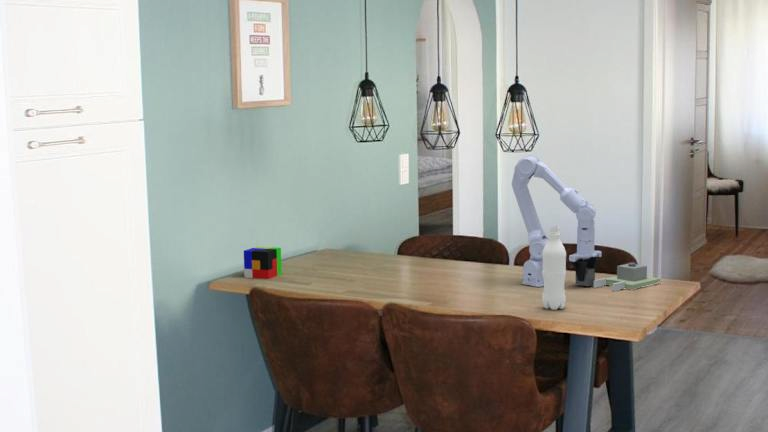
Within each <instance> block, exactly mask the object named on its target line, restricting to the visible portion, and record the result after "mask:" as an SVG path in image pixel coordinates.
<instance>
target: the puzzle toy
mask: <svg viewBox="0 0 768 432" xmlns="http://www.w3.org/2000/svg"><path fill="white" fill-rule="evenodd" d="M243 269H244V271H243V272H244V278H248V279H250V278H251V279H263V280H270V279H272V278H275V277H278V276H281V275H283V274H282V273H283V272H282V271H283V270H282V247H276V246H275V247H272V246H255V247H252V248H248V249H245V250H243Z"/></svg>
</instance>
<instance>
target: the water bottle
mask: <svg viewBox="0 0 768 432" xmlns="http://www.w3.org/2000/svg"><path fill="white" fill-rule="evenodd" d="M548 230H549V232H548V241H547V243H546V245H545V247H544V249H543V253H542V255H543V270H542V275H543V279H544V286H543V291H542V295H541V296H542V297H541V299H542V305H543V307H544V309H547V310H548V309H551V310H552V311H555V310H556V311H557V310H559V309H560V310H562V309H564V308H565V305H566V302H567V296H566V292H565V282H566V281H565V280H566V276H567V269H566V268H567V266H566V265H567V264H566V262H567V251H566V248H565V246H564V244H563V242H562V240H561V238H560V235H561V231H560V226H553V225H552V226H549V229H548Z"/></svg>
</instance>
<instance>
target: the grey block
mask: <svg viewBox="0 0 768 432" xmlns="http://www.w3.org/2000/svg"><path fill="white" fill-rule="evenodd" d="M594 280H596V272H594V269H592V268H587V267H586V269H585V277H584V281H578V279H577V275H576V274H575V285H577V286H583V287H591V286H594Z"/></svg>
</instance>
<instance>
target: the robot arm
mask: <svg viewBox="0 0 768 432" xmlns="http://www.w3.org/2000/svg"><path fill="white" fill-rule="evenodd" d="M512 176H513V177H512V180H511V188H512V190H513V193H514V196H515V199H516V202H517V204H518V208H519V210H520V213H521V217H522V220H523V223H524V226H525V228H526V231H527V240H528V243H529V247H528V252H529V254H530V256H529V259H528V260H526V261H525V262H524V263H523V269H522V270H523V271H522V273H523V274H522V276H523V277H522V278H523V279H522V280H523V281H522V282H521V284H522V285H525V286H531V287H537V288H541V287H544V279H543V275H542V270H543V255H542V253H543V249H544V247H545V245H546V243H547V241H548V239H549V237H548V236H547V234H546V232H545V231H544V229H543V227H542V224H541V222H540V219H539V216H538V213H537V210H536V207H535V204H534V201H533V198H532V196H531V193H530V190H529V187H528V185H529V182H531V181H530V180H532V178H533V177H535V178H537V179H542V180H544V181H545V182H546V183H547V184H548V185H549V186H550V187H551V188H553V189H554V190H555V191H556V192H557V193H558V194H559V196H560V198H559V200H560V201H561V202H562V203H563V204H564V205H565V206H566V207H567V208H568V210H570V211H571V212H572V213H573V214H575V217H576V219H577V227H576V228H577V230H576V233H577V236H576V252H575V253H573V254H569V257H568V259H569V260H568V261H569V262H571V265H572V266H573V268H574V270H575V276H576V275H577V279H578V281H584V277H585V269H586V267H587V268H592V269H594V273H596V269H597V267H598V264H599V263H600V260H601V259H600V258H601V257H602V254H603V253H602V251H601V250H595V235H596V234H595V232H596V231H595V230H596V229H595V227H596V226H595V218H596V214H597V212H596V208H595V207H594V205H593V204H591V203H589V200H587V199H586V200H585V199H584V198H583V196H581V194H580V193H579V189H577V188H576V189H574V187H567V186H566V185H565V184H564V183H563V182H562V181H561V180H560V178H559V177H558V176H557V175H556V174H555V173H554V172H553V171H552V170H551V169H550V168H549V167H548V166H547V165H546V164H545V163H544V162H543V161H542V160H539V157H537V156H535V155H527V156H524V157H522V158H520V159H519V160H518V162H517V163H516V165H515V166H514V171H513V175H512Z"/></svg>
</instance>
